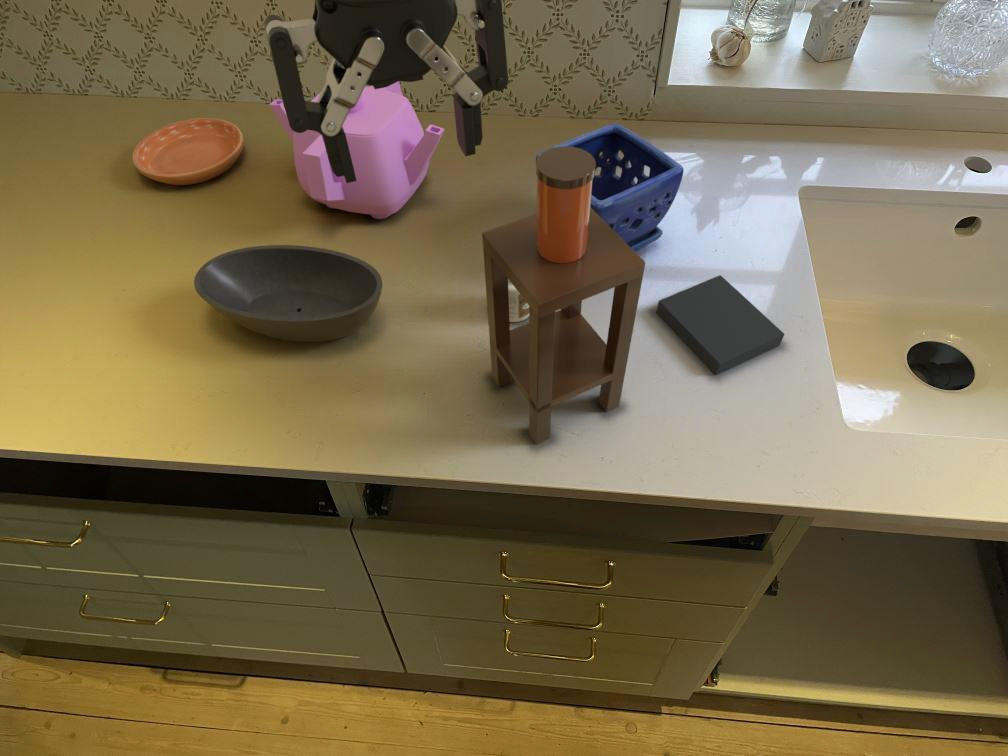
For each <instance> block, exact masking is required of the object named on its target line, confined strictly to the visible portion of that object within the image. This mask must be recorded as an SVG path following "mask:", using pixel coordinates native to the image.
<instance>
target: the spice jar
mask: <svg viewBox="0 0 1008 756" xmlns="http://www.w3.org/2000/svg"><path fill="white" fill-rule="evenodd" d="M550 148H551V147H550ZM548 149H549V148H548ZM545 150H546V149H545ZM595 164H596V163H595V160H594V158H593V156H592V155H591V154H590V153H588V152H587V151H585V150H582V149H580V148H576V147H567V146H564V147H555V148H551V149H549V150H546V151H545V152H543V153H542V154H540V156H539V157H538V158H537V161H536V160H535V175H536V214H537V251H538V253H539V254H540V255H541V256H542V257H543V258H544V259H546V260H548V261H551V262H554V263H570V262H574V261H576V260H578V259H580V258H581V257H582V256H583V255H584V254H585V252H586V249H587V240H588V229H589V217H590V206H591V195H592V183H593V177H594V175H596V174H595V173H596V171H595Z"/></svg>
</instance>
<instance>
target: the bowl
mask: <svg viewBox="0 0 1008 756" xmlns="http://www.w3.org/2000/svg"><path fill="white" fill-rule="evenodd" d="M193 286H194V289H195V291H196V293H197V295H199V296H200V298H201V299H203V300H204V301H205V302H206V303H207V304H208V305H209V306H210V307H211V308H213V309H214V310H215V311H217V313H220V314H221V316H223V317H225V318H227V319H228V320H229V321H232V322H234V323H236V324H237V325H239V326H241V327H242V328H245V329H248V330H249V331H251V332H255V333H258V334H261V335H263V336H267V337H269V338H272V339H276V340H281V341H285V342H294V343H322V342H330V341H335V340H339V339H342V338H345V337H348V336H350V335H351V334H353V333H354V332H356V331H357V330H359V329H360V328H361V327H362V326H364V325H365V324H366V323H367V322H368V320H369V319H370V318H371V316H372V315H373V313H374V312H375V310H376V308H377V307H378V304H379V301H380V298H381V294H382V290H383V279H382V276H381V274H380V273H379V271H378V270H377V269H376V268H375V267H374V266H372V265H371V264H369V263H368V262H366V261H365V260H362V259H361V258H359V257H356V256H353V255H352V254H347V253H344V252H340V251H337V250H333V249H327V248H321V247H315V246H308V245H296V244H295V245H294V244H269V245H268V244H267V245H257V246H248V247H242V248H238V249H234V250H230V251H227V252H224V253H221V254H219V255H217V256H215V257H213V258H210V259H209V260H207V262H205V263H204V264H203V265H202V266H201V267H200V268H199V269H198V271H197V272H196V274H195V276H194V281H193Z"/></svg>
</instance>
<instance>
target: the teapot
mask: <svg viewBox="0 0 1008 756" xmlns="http://www.w3.org/2000/svg"><path fill="white" fill-rule="evenodd" d="M402 92H403V91H402V88H401V84H400V81H398V82H396V83H394V84H392V85H390V86H388V87H384V88H380V89H374V87H373V86H370V85H369V86H367V85H365V87H364V89H363V91H362V94H361V96H360V98H359V100H358V102H357V104H356V106H355V107H354V108H351V109H350V111H349V113H348V115H347V117H346V119H345V121H344V123H343V126H342V127H343V129H344V132H345V134H346V139H347V143H348V147H349V151H350V155H351V159H352V163H353V168H354V172H355V176H356V180H357V181H355V182H351V183H346V180H345V178H344V176H340V177H337V176H336V175H335V174H334V173H333V171H332V168H331V165H330V162H329V159H328V156H327V152H326V148H325V145H324V141H323V137H322V135H321V134H320V133H318V132H316V131H312V130H307V131H305V132H303V133H297V132H295V131H293V130H292V129H291V128H290V125H289V122H288V118H287V115H286V111H285V108H284V104H283V100H282V98H281V99H279V98H278V99H277V98H276V99H274V100H273V101H272V102H271V103H269V104H268V105H269V107H270V110H271V111H272V112H273V114H274V115H275V117H276V119H277V120H278V121H279V123H280V124H281V126H282V128H283V129H284V131H285V132H286V133H287V135H288V137H289V138H290V140H291V142H292V143H293V144H292V145H293V147H292V149H293V160H294V166H295V171H296V177H297V179H298V182H299V184H300V187H302V189H303V191H304V192H305V193H306V194H307V195H308V196H309V197H310V198H312V199H313V200H314V201H316V202H318V203H321V204H323V205H325V206H326V207H327V208H329V209H338V210H341V211H345V212H350V213H357V214H364V215H370V216H371V217H372V219H377V220H382V219H387V218H388V217H390V216H391V215H393V214H395V213H397V212H398V211H400V210H401V209H402V207H403V206H404V205H405V204H407V202H408V201H409V200H410V199H411V198H412V196H413V195H414V194H415V192H416V191H417V190H418V188H419V187H420V185H421V184H422V183H423V181H424V179H425V178H426V175H427V172H428V169H429V165H430V161H431V158H432V156H433V154H434V152H435V150H436V148H437V146H438V144H439V142H440V140H441V138H442V137H443V135H444V133H445V128H444V127H440V126H437V125H435V124H431V123H430V124H429V125H428V127H426V129H425V131H424V129H423V126H422V124H421V121H420V120H419V118H418V116H417V113H416V112H415V111H416V110H414V107H413V105H412V104H411V102H410V100H409V98H408V97H406V96H405V95H403V93H402ZM320 94H321V92H319V93H318V94H317V95H316V96H315V97H314V98H313V99H311V100H309V101H310V102H317V101H318V98H319V96H320Z"/></svg>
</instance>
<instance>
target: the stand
mask: <svg viewBox="0 0 1008 756" xmlns="http://www.w3.org/2000/svg"><path fill="white" fill-rule="evenodd" d="M481 235H482V237H481V239H482V251H483V265H484V278H485V279H484V281H485V294H486V295H485V296H486V306H487V307H486V308H487V320H488V335H489V351H490V364H491V376H492V379H493V381H494V382H495V384H496V386H497V387H498V388H501V387H503V386H506V385H508V384H510V383H512V382H513V381H512V379H513V380H514V382H515V383H516V385H517V386H518V388H519V389H520V390H521V392H522V393H523V395H524V396H525V398H526V399H527V401H528V407H529V408H528V434H529V436H530V437H531V439H532V440H533V442H534V444H535V445H539V444H542V443H543V442H545V441H548V440H550V439H551V422H552V421H551V419H552V407H555V406H556V405H559V404H561V403H564V402H566V401H568V400H570V399H572V398H575V397H576V396H579V395H581V394H583V393H585V392H589V391H590V390H593V389H594V388H598V387H599V386H600V389H599V396H598V404H599V405H600V406H601V407H602V409H603V410H604V411H605V413H609V412H611V411H613V410H615V409H617V408H619V407H620V402H621V398H622V392H623V387H624V382H625V376H626V370H627V365H628V361H629V360H628V359H629V354H630V348H631V343H632V339H633V332H634V326H635V321H636V317H637V311H638V305H639V300H640V293H641V289H642V284H643V278H644V277H643V276H644V273H645V267H646V262H645V260H644V259H643V258H642V257H641V256H640V255H639V254H638V253H637V252H636V251H634V250H633V249H632V248H631V247H630V246H629V245H628V244H627V243H626V242H625V241H624V240H623V239H622V238H621V237H620V236H619V235H618V234H617V233H616V232H615V231H614V230H613V229H612V228H611V227H610V226H609V225H608V224H607V223H606V222H605V221H604V220H603V219H602V218H601V217H600V216H599V215H598V214H597V213H596V212H595V211H594V210H593V209H592V208H591V207H590V217H589V229H588V240H587V249H586V252H585V254H584V255H583V256H582V257H581V258H580V259H578V260H576V261H574V262H570V263H554V262H551V261H548V260H546V259H544V258H543V257H542V256H541V255H540V254H539V253H538V251H537V213H535V214H532V215H529V216H525V217H523V218H520V219H517V220H514V221H512V222H509V223H506V224H503V225H501V226H500V225H499V226H498V227H495V228H492V229H489V230H486V231H484V232H481ZM508 279H509V280H510V282H511V283H512V284H513V285H514V287H515V288H516V289H517V291H518V292H519V293H520V294H521V296H522V297H523V298H524V300H525V301H526V302H527V304H528V305H529V317H528V322H526V323H525V324H522V325H520V326H517V327H514V328H512V329H511V325H510V324H511V322H509V293H508ZM611 289H614V290H613V296H612V302H611V311H610V318H609V325H608V332H607V337H606V338H607V339H606V342H605V340H603V338H602V337H601V336H600V335H599V334H598V332H597V331H596V330H595V328H594V327H593V326H592V325H591V324H590V323H589V321H587V319H586V318H585V317H584V316H583V315H582V306H583V305H582V304H583V301H584V300H587V299H589V298H591V297H594V296H597V295H599V294H601V293H605V292H606V291H609V290H611Z"/></svg>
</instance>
